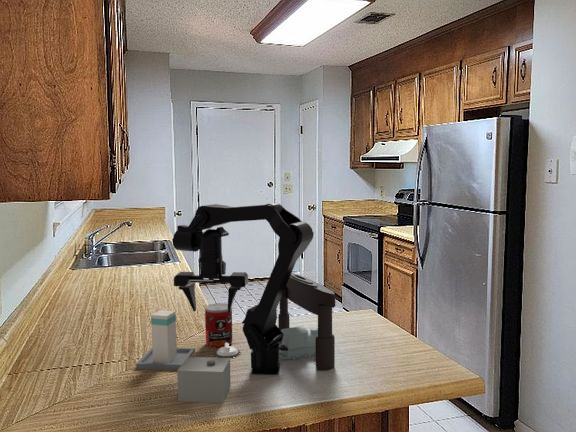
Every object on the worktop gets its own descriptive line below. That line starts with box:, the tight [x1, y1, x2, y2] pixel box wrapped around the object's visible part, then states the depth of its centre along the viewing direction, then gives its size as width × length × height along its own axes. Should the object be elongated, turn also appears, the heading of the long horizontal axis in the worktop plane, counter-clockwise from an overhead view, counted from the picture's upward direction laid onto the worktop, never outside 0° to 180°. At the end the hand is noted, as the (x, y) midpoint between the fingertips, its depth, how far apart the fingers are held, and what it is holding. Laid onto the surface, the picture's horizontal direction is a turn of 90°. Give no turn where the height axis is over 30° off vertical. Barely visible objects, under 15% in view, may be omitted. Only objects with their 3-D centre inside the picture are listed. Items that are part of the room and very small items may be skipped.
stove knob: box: [213, 343, 241, 359], centre depth 141 cm, size 7×7×3 cm
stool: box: [277, 272, 336, 371], centre depth 140 cm, size 16×21×33 cm
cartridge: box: [150, 309, 178, 363], centre depth 135 cm, size 5×5×12 cm
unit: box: [176, 356, 232, 404], centre depth 116 cm, size 10×8×8 cm
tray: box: [135, 347, 196, 371], centre depth 136 cm, size 12×12×2 cm
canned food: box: [204, 302, 233, 348], centre depth 148 cm, size 8×8×11 cm
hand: (212, 311), depth 136 cm, fingers open, 9 cm apart
